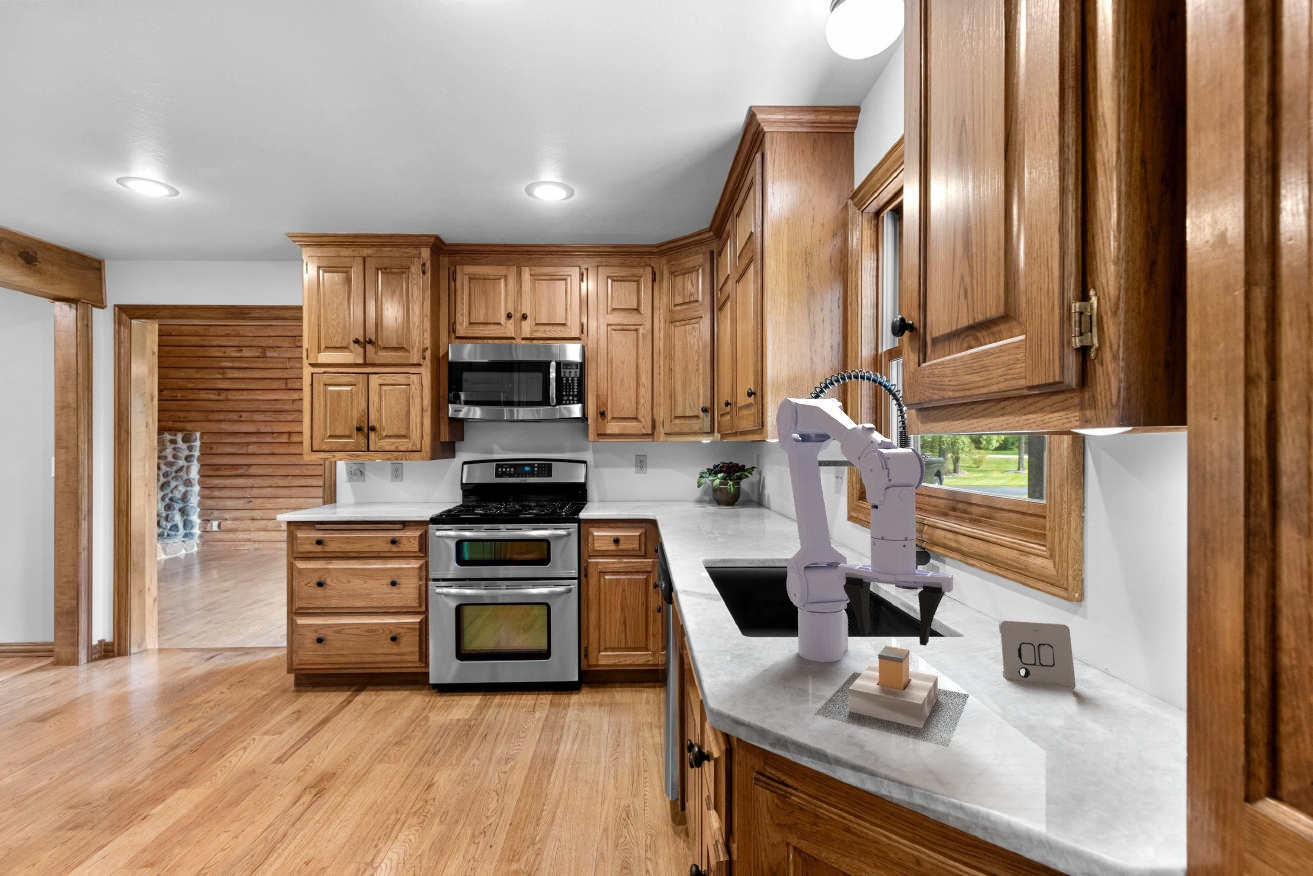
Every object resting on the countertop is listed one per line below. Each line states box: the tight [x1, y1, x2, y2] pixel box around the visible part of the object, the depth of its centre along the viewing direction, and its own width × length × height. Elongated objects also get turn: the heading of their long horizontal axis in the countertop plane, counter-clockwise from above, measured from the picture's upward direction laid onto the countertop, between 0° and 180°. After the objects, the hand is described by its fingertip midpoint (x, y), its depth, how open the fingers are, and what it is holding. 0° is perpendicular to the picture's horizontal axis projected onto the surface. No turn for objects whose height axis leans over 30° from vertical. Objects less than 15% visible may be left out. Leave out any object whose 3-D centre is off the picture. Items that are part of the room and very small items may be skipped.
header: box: [815, 663, 970, 748], centre depth 84 cm, size 18×16×4 cm
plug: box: [877, 645, 910, 691], centre depth 84 cm, size 4×3×7 cm
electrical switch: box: [998, 620, 1077, 690], centre depth 95 cm, size 9×5×9 cm, turn 74°
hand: (893, 638), depth 85 cm, fingers open, 7 cm apart
